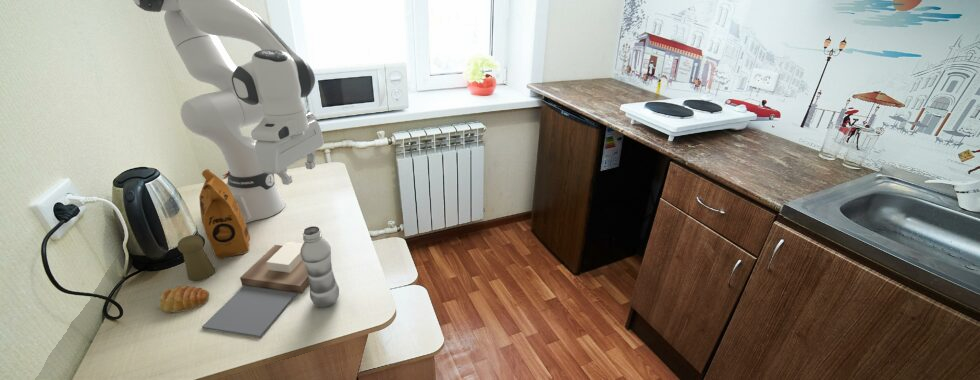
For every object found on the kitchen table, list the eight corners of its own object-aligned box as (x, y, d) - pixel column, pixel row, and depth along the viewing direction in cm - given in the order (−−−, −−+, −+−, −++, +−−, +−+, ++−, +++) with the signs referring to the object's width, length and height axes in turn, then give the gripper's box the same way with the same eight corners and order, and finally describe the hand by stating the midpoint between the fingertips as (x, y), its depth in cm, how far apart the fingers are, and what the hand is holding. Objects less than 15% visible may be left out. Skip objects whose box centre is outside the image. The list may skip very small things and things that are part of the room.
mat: (202, 328, 91) (201, 326, 90) (244, 287, 102) (244, 285, 102) (260, 337, 89) (260, 335, 88) (296, 294, 100) (296, 292, 100)
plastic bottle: (310, 313, 95) (293, 241, 86) (313, 293, 101) (296, 224, 91) (340, 308, 97) (326, 237, 87) (341, 289, 102) (327, 220, 93)
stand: (242, 285, 103) (239, 277, 102) (277, 252, 115) (275, 244, 114) (301, 293, 101) (299, 285, 99) (330, 258, 113) (329, 251, 112)
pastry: (215, 290, 101) (210, 278, 100) (204, 310, 96) (199, 298, 94) (172, 295, 100) (166, 283, 98) (158, 316, 94) (152, 303, 92)
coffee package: (210, 263, 110) (183, 191, 100) (211, 239, 120) (187, 171, 109) (252, 253, 114) (230, 182, 104) (250, 231, 124) (230, 164, 114)
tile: (268, 269, 104) (266, 261, 103) (289, 249, 112) (287, 241, 111) (290, 272, 104) (288, 264, 102) (310, 251, 111) (308, 243, 110)
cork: (202, 283, 103) (188, 247, 98) (182, 279, 104) (166, 244, 99) (221, 268, 108) (208, 233, 103) (201, 265, 110) (188, 230, 104)
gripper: (302, 110, 108) (313, 159, 114) (244, 135, 90) (261, 191, 96) (324, 111, 107) (333, 161, 113) (270, 137, 89) (284, 194, 95)
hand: (299, 175), depth 104 cm, fingers open, 8 cm apart
